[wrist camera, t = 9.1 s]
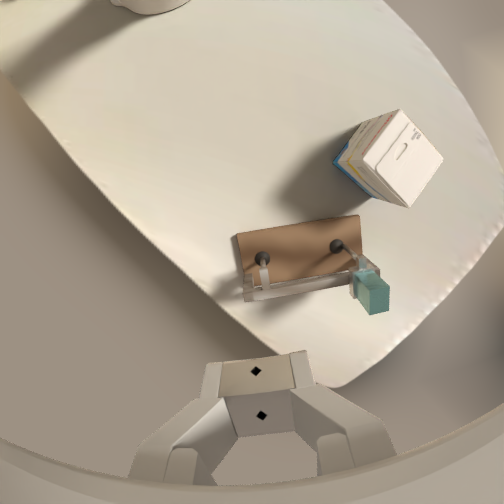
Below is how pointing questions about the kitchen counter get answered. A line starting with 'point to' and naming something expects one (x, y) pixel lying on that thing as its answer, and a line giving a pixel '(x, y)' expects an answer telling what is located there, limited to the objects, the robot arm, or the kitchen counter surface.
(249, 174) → the kitchen counter surface
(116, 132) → the kitchen counter surface
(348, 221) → the board
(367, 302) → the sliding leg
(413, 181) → the ink box
